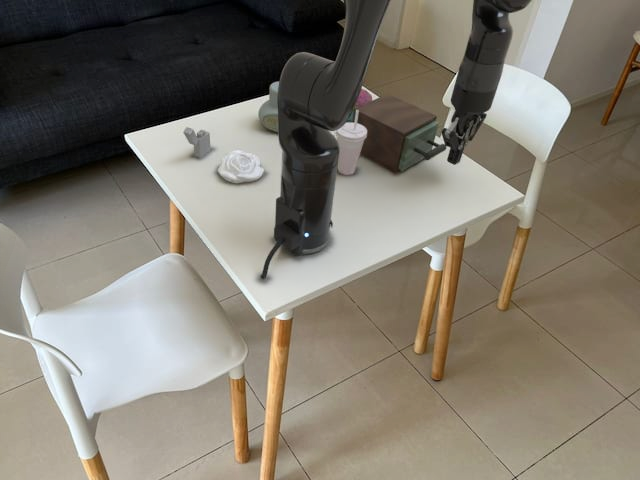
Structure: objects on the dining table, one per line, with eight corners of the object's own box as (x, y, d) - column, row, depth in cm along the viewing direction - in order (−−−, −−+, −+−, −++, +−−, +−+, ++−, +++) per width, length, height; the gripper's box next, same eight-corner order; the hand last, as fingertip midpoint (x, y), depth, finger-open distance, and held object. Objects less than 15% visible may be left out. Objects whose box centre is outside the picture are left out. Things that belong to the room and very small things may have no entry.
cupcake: (374, 123, 130) (382, 76, 121) (341, 126, 128) (347, 78, 120) (362, 107, 136) (369, 60, 127) (331, 109, 134) (336, 63, 126)
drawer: (447, 162, 116) (456, 130, 111) (418, 180, 111) (427, 147, 106) (387, 132, 125) (393, 101, 119) (358, 147, 120) (363, 115, 114)
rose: (235, 137, 114) (273, 150, 111) (236, 154, 117) (272, 168, 114) (207, 157, 108) (246, 172, 105) (208, 175, 111) (246, 191, 108)
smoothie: (359, 180, 112) (369, 119, 102) (329, 176, 113) (336, 115, 103) (362, 163, 116) (372, 104, 107) (333, 160, 117) (340, 100, 107)
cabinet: (427, 154, 120) (437, 115, 113) (395, 173, 114) (404, 133, 107) (380, 131, 127) (387, 93, 120) (348, 147, 121) (353, 108, 114)
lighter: (204, 147, 119) (202, 115, 114) (211, 149, 119) (208, 117, 113) (186, 162, 115) (182, 129, 109) (192, 164, 114) (189, 131, 109)
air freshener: (254, 130, 125) (253, 90, 119) (265, 114, 131) (265, 75, 124) (298, 138, 123) (300, 98, 116) (307, 122, 129) (310, 82, 122)
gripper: (478, 65, 102) (455, 143, 114) (439, 84, 95) (419, 166, 108) (513, 78, 98) (485, 158, 111) (476, 99, 92) (450, 182, 104)
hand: (452, 162), depth 109 cm, fingers closed
